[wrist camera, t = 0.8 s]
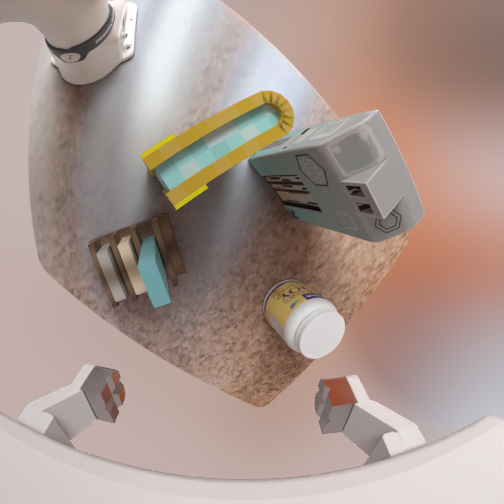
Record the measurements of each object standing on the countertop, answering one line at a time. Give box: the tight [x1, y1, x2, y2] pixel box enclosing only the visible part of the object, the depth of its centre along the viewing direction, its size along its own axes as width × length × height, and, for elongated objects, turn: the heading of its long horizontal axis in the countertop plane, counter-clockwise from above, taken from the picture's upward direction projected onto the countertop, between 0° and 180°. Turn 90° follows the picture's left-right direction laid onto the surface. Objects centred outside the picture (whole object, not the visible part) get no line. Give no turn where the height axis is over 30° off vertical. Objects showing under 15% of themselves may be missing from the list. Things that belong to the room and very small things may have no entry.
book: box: [140, 91, 294, 210], centre depth 37 cm, size 17×7×25 cm, turn 122°
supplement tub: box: [263, 279, 345, 359], centre depth 56 cm, size 12×12×17 cm
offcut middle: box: [117, 235, 147, 295], centre depth 45 cm, size 9×2×7 cm, turn 14°
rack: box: [88, 213, 186, 307], centre depth 46 cm, size 12×16×6 cm
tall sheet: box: [137, 235, 171, 308], centre depth 41 cm, size 6×2×18 cm, turn 14°
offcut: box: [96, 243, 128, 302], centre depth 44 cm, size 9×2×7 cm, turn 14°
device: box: [248, 110, 425, 243], centre depth 42 cm, size 16×8×30 cm, turn 40°
